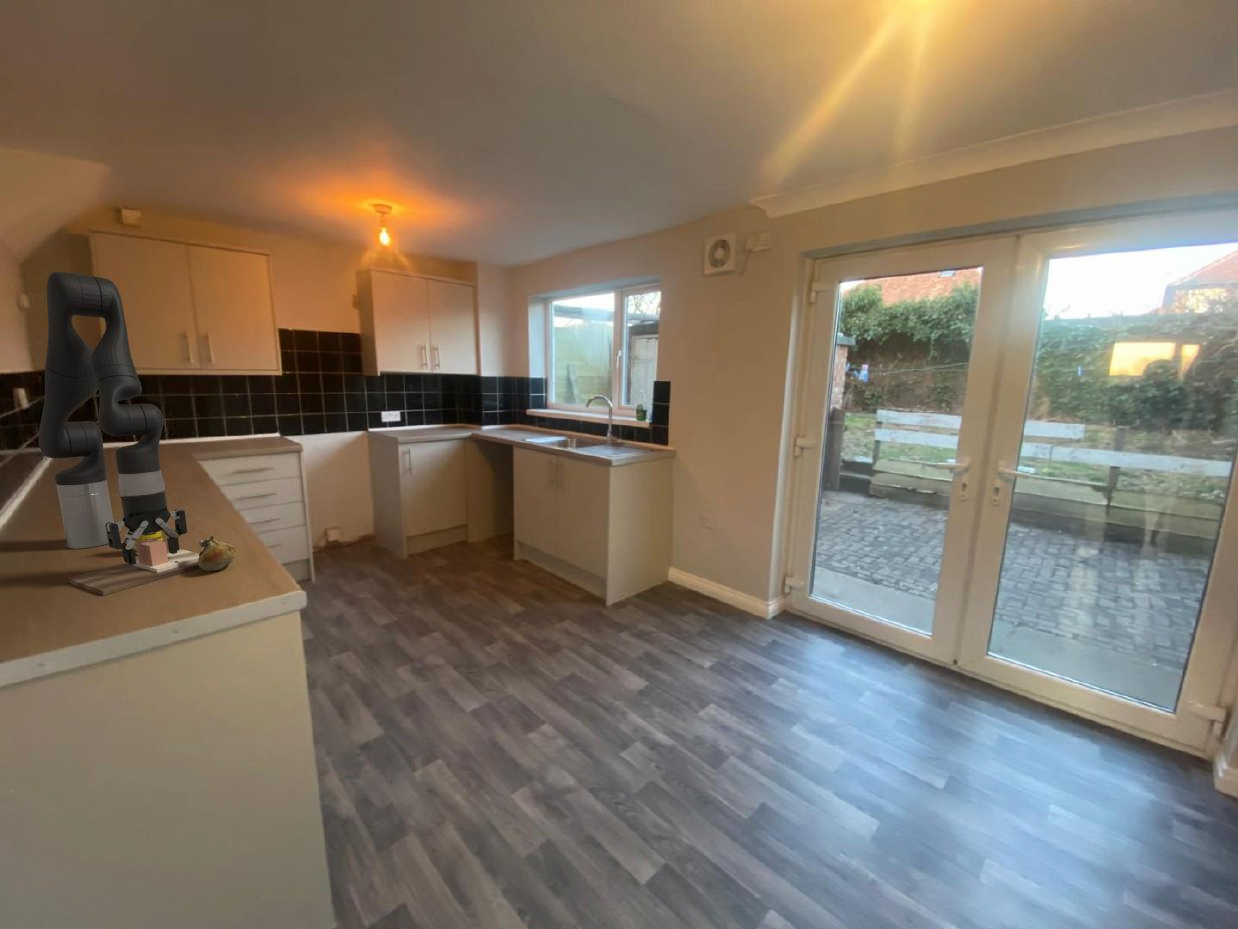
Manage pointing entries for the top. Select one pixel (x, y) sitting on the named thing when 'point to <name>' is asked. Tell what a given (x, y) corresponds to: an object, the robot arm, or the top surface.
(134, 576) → the board
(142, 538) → the supplement bottle
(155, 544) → the pink and white block
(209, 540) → the onion
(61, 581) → the top surface
